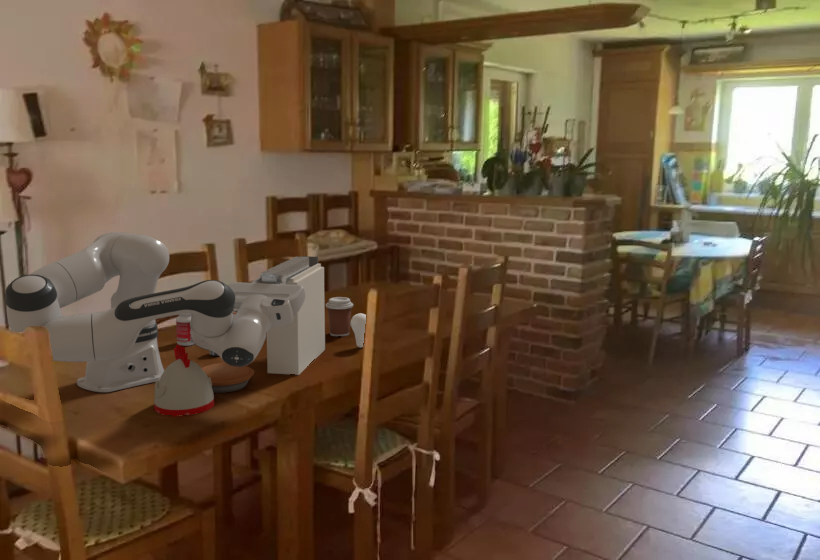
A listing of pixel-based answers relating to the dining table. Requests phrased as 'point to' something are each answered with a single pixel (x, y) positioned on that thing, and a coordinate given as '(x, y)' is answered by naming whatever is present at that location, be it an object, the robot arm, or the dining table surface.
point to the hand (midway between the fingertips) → (273, 276)
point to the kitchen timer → (183, 387)
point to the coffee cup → (339, 315)
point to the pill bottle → (184, 329)
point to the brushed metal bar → (285, 270)
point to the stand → (300, 327)
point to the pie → (227, 377)
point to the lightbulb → (359, 328)
